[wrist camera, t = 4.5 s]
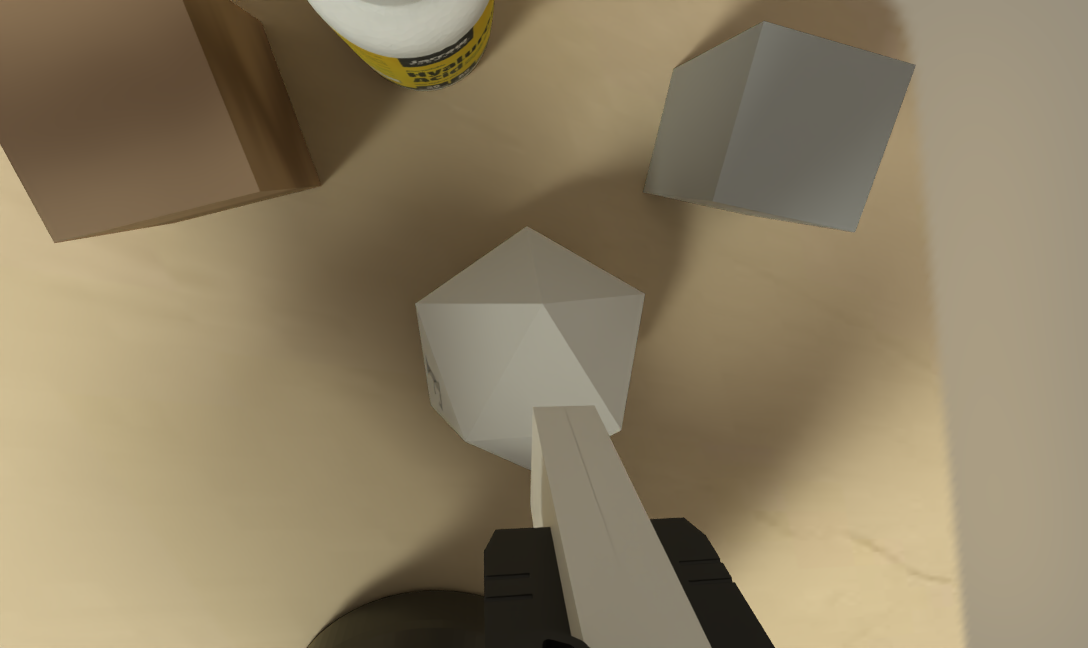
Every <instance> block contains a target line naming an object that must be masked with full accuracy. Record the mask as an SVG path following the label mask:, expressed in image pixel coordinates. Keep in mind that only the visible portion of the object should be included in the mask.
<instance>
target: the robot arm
mask: <svg viewBox="0 0 1088 648" xmlns="http://www.w3.org/2000/svg"><path fill="white" fill-rule="evenodd" d="M530 507H531V513H532V520H533V527H534V528H519V529H501V530H495V532H494V534H493V536H492V537H491V539H490V541H489V543H488V545H487V547H486V549H485V550H484V597H481V596H478V595H473V594H468V593H462V592H453V591H420V592H411V593H405V594H400V595H395V596H391V597H387V598H384V599H380V600H377V601H374V602H372V603H369V604H367V605H364V606H362V607H360V608H358V609H356V610H354V611H352V612H350V613H348V614H346V615H344V616H343V617H341V618H340V619H338V620H337V621H335V622H334V623H332V624H331V625H330V626H329V627H327V628H326V629H325V630H324V631H323V632H321V633H320V634H319V635H318V636H317V637H316V638H315V639H314V640H313V641H312V643H311V644H310V645H309V646H308V647H307V648H775V647H774V645H773V644H772V642H771V640H770V639H769V637H768V636H767V634H766V632H765V631H764V629H763V627H762V626H761V624H760V623H759V621H758V619H757V618H756V616H755V614H754V613H753V611H752V610H751V608H750V606H749V605H748V603H747V601H746V600H745V598H744V597H743V595H742V593H741V592H740V590H739V589H738V587H737V585H736V584H735V582H734V583H733V582H732V577H731V576H730V574H729V572H728V571H727V569H726V567H725V566H724V564H723V563H721V562H720V558H719V556H718V554H717V553H716V551H715V550H714V548H713V546H712V545H711V543H710V541H709V540H708V538H707V537H706V535H704V534H703V533H702V532H701V531H700V530H698V529H697V528H696V527H695V526H693V525H692V524H691V523H690V522H689V521H687V520H686V519H685V518H667V519H649V517H648V515H647V513H646V511H645V509H644V507H643V505H642V503H641V501H640V498H639V496H638V494H637V492H636V490H635V488H634V486H633V484H632V482H631V480H630V478H629V476H628V474H627V472H626V470H625V467H624V465H623V463H622V461H621V459H620V457H619V455H618V453H617V451H616V449H615V447H614V445H613V443H612V441H611V438H610V436H609V434H608V432H607V430H606V428H605V426H604V424H603V422H602V420H601V418H600V416H599V414H598V412H597V409H596V407H595V405H587V406H549V407H533V414H532V455H531V496H530Z"/></svg>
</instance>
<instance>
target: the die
mask: <svg viewBox="0 0 1088 648" xmlns="http://www.w3.org/2000/svg"><path fill="white" fill-rule="evenodd" d="M644 297H645V294H644V293H643V292H641V291H639V290H637V289H636V288H634V287H632V286H630V285H629V284H627V283H625V282H624V281H622V280H620V279H618V278H617V277H615V276H613V275H611V274H610V273H608V272H606V271H604V270H603V269H601V268H599V267H597V266H596V265H594V264H592V263H591V262H589V261H587V260H585V259H584V258H582V257H580V256H578V255H577V254H575V253H573V252H571V251H570V250H568V249H566V248H564V247H563V246H561V245H559V244H558V243H556V242H554V241H552V240H551V239H549V238H547V237H545V236H544V235H542V234H540V233H538V232H537V231H535V230H533V229H531V228H530V227H528V226H526V227H525V228H523V229H522V230H521V231H519V232H518V233H516V234H515V235H513V236H512V237H510V238H509V239H508V240H506V241H505V242H503V243H502V244H500V245H499V246H497V247H496V248H495V249H493V250H492V251H490V252H489V253H487V254H486V255H485V256H483V257H482V258H480V259H479V260H477V261H476V262H474V263H473V264H472V265H470V266H469V267H467V268H466V269H464V270H463V271H461V272H460V273H459V274H457V275H456V276H454V277H453V278H451V279H450V280H449V281H447V282H446V283H444V284H443V285H441V286H440V287H438V288H437V289H436V290H434V291H433V292H431V293H430V294H428V295H427V296H425V297H424V298H423V299H421V300H420V301H418V302H417V303H415V306H416V312H417V319H418V325H419V332H420V338H421V345H422V351H423V358H424V364H425V371H426V377H427V384H428V390H429V397H430V403H431V406H432V407H433V408H434V409H435V410H436V411H437V412H438V413H439V415H440V416H441V417H442V418H443V419H444V420H445V421H446V422H447V423H448V424H449V425H450V426H451V427H452V428H453V429H454V430H455V432H456V433H457V434H458V435H459V436H460V437H461V438H462V439H463V440H464V441H465V442H467V443H469V444H472V445H474V446H476V447H478V448H481V449H483V450H485V451H488V452H490V453H492V454H494V455H497V456H499V457H501V458H504V459H506V460H508V461H510V462H513V463H515V464H517V465H520V466H522V467H524V468H526V469H529V470H531V455H532V414H533V407H549V406H587V405H595V407H596V409H597V412H598V414H599V416H600V418H601V420H602V422H603V424H604V426H605V428H606V430H607V432H608V434H609V436H611V435H613V434H615V433H617V432H619V431H621V429H622V423H623V417H624V412H625V406H626V400H627V395H628V389H629V383H630V377H631V372H632V366H633V360H634V355H635V349H636V343H637V337H638V332H639V326H640V320H641V315H642V309H643V303H644Z"/></svg>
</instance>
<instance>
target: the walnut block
mask: <svg viewBox="0 0 1088 648" xmlns="http://www.w3.org/2000/svg"><path fill="white" fill-rule="evenodd" d="M0 144H1V146H2V148H3V150H4V152H5V153H6V155H7V157H8V159H9V161H10V163H11V164H12V166H13V168H14V170H15V172H16V174H17V175H18V177H19V179H20V181H21V183H22V185H23V186H24V188H25V190H26V192H27V194H28V195H29V197H30V199H31V201H32V203H33V205H34V206H35V208H36V210H37V212H38V214H39V216H40V217H41V219H42V221H43V223H44V225H45V227H46V228H47V230H48V232H49V234H50V236H51V238H52V239H53V241H54V243H58V242H64V241H70V240H76V239H82V238H88V237H94V236H100V235H106V234H111V233H117V232H123V231H129V230H135V229H141V228H147V227H153V226H159V225H165V224H171V223H176V222H180V221H184V220H188V219H192V218H196V217H200V216H204V215H208V214H212V213H216V212H220V211H223V210H227V209H231V208H235V207H239V206H243V205H247V204H251V203H255V202H259V201H263V200H267V199H271V198H275V197H279V196H283V195H287V194H291V193H295V192H299V191H303V190H307V189H311V188H315V187H319V186H321V184H320V181H319V178H318V175H317V173H316V170H315V167H314V164H313V162H312V159H311V156H310V154H309V151H308V148H307V145H306V143H305V140H304V137H303V134H302V132H301V129H300V126H299V124H298V121H297V118H296V115H295V113H294V110H293V107H292V104H291V102H290V99H289V96H288V94H287V91H286V88H285V85H284V83H283V80H282V77H281V74H280V72H279V69H278V66H277V64H276V61H275V58H274V55H273V53H272V50H271V47H270V45H269V42H268V39H267V36H266V34H265V31H264V28H263V25H262V23H261V21H259V20H258V19H256V18H255V17H253V16H252V15H250V14H249V13H247V12H246V11H244V10H243V9H241V8H240V7H238V6H237V5H235V4H234V3H232V2H231V1H230V0H0Z"/></svg>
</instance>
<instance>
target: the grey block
mask: <svg viewBox="0 0 1088 648" xmlns="http://www.w3.org/2000/svg"><path fill="white" fill-rule="evenodd" d="M915 66H916V65H914V64H911V63H907V62H904V61H900V60H897V59H893V58H890V57H886V56H883V55H880V54H876V53H873V52H869V51H866V50H862V49H859V48H855V47H852V46H849V45H845V44H842V43H838V42H835V41H831V40H828V39H825V38H821V37H818V36H814V35H811V34H807V33H804V32H800V31H797V30H794V29H790V28H787V27H783V26H780V25H776V24H773V23H769V22H766V21H763V22H761V23H759V24H757V25H755V26H754V27H752V28H750V29H748V30H746V31H744V32H742V33H740V34H738V35H737V36H735V37H733V38H731V39H729V40H727V41H725V42H723V43H722V44H720V45H718V46H716V47H714V48H712V49H710V50H708V51H707V52H705V53H703V54H701V55H699V56H697V57H695V58H693V59H691V60H690V61H688V62H686V63H684V64H682V65H680V66H678V67H676V68H675V69H673V73H672V77H671V81H670V85H669V89H668V93H667V97H666V101H665V105H664V110H663V114H662V118H661V122H660V126H659V130H658V134H657V138H656V142H655V146H654V150H653V154H652V158H651V162H650V166H649V170H648V174H647V178H646V182H645V186H644V190H643V192H644V193H648V194H653V195H658V196H662V197H667V198H671V199H676V200H681V201H685V202H690V203H694V204H699V205H704V206H708V207H713V208H718V209H722V210H727V211H731V212H736V213H741V214H745V215H751V216H757V217H763V218H769V219H775V220H781V221H788V222H794V223H800V224H806V225H812V226H818V227H824V228H830V229H837V230H843V231H849V232H855V231H856V228H857V225H858V223H859V220H860V217H861V214H862V212H863V209H864V206H865V203H866V201H867V198H868V195H869V192H870V190H871V187H872V184H873V181H874V179H875V176H876V173H877V170H878V168H879V165H880V162H881V159H882V157H883V154H884V151H885V148H886V146H887V143H888V140H889V137H890V135H891V132H892V129H893V126H894V124H895V121H896V118H897V115H898V113H899V110H900V107H901V104H902V102H903V99H904V96H905V93H906V91H907V88H908V85H909V82H910V80H911V77H912V74H913V71H914V69H915Z"/></svg>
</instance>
